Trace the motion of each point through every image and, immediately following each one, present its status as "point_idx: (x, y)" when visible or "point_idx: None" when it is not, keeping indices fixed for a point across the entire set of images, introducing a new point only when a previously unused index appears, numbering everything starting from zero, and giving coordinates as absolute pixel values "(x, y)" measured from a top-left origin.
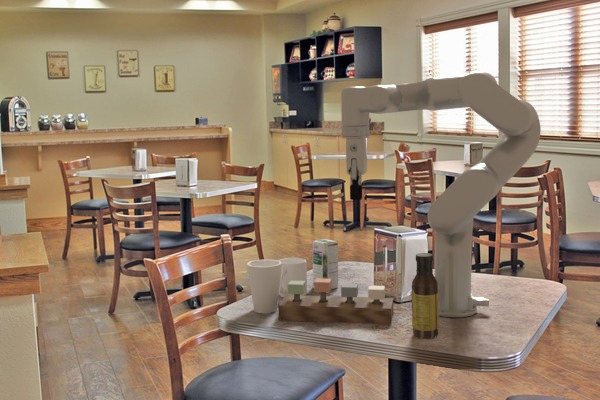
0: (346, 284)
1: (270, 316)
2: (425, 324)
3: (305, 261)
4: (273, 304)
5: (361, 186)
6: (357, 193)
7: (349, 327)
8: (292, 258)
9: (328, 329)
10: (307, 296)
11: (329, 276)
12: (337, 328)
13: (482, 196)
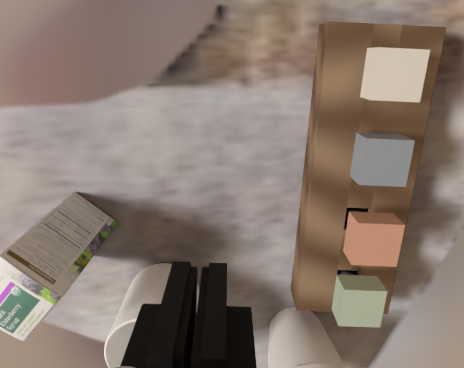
0: (374, 173)
1: None
2: None
3: None
4: (318, 322)
5: (224, 349)
6: (252, 332)
7: (440, 137)
8: (108, 357)
9: (450, 184)
10: (309, 261)
11: (92, 227)
12: (445, 164)
13: None
